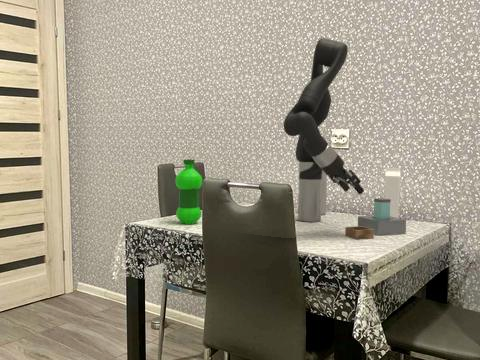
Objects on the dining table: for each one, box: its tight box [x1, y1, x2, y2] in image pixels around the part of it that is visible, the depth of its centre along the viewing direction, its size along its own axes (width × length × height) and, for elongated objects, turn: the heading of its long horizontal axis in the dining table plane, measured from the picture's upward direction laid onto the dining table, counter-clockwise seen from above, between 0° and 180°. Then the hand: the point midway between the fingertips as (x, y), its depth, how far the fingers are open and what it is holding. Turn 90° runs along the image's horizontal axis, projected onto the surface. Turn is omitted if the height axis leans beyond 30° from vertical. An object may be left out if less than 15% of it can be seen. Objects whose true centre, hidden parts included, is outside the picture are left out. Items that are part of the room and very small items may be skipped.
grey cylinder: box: [297, 161, 328, 216], centre depth 215 cm, size 12×12×25 cm
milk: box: [384, 167, 402, 218], centre depth 199 cm, size 6×6×22 cm
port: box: [357, 215, 407, 237], centre depth 173 cm, size 12×12×5 cm
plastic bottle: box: [174, 158, 203, 225], centre depth 186 cm, size 10×10×25 cm
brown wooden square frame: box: [344, 225, 375, 240], centre depth 163 cm, size 7×7×3 cm
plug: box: [373, 197, 391, 220], centre depth 173 cm, size 4×4×11 cm
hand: (354, 191), depth 168 cm, fingers open, 8 cm apart
